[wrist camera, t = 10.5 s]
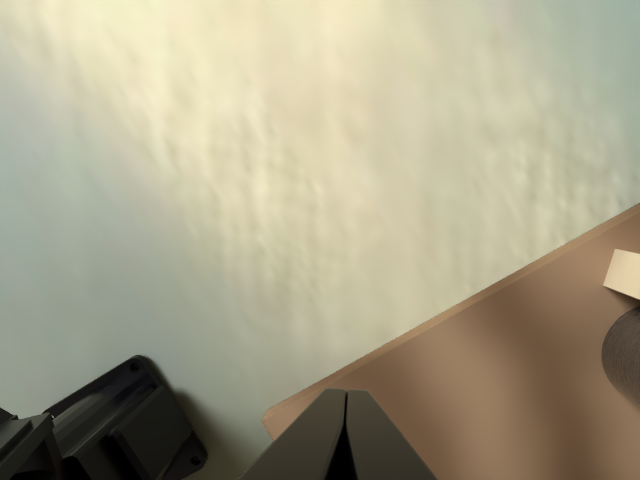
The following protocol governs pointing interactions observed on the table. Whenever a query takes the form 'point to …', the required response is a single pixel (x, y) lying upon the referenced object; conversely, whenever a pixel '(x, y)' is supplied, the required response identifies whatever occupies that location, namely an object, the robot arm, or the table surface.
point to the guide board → (510, 374)
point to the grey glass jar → (624, 354)
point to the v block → (624, 273)
